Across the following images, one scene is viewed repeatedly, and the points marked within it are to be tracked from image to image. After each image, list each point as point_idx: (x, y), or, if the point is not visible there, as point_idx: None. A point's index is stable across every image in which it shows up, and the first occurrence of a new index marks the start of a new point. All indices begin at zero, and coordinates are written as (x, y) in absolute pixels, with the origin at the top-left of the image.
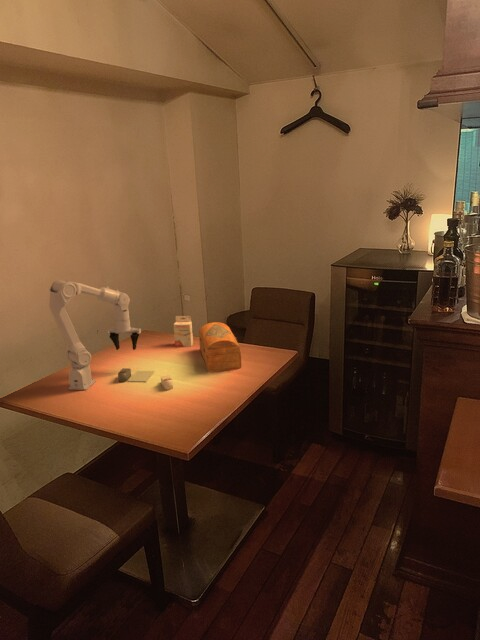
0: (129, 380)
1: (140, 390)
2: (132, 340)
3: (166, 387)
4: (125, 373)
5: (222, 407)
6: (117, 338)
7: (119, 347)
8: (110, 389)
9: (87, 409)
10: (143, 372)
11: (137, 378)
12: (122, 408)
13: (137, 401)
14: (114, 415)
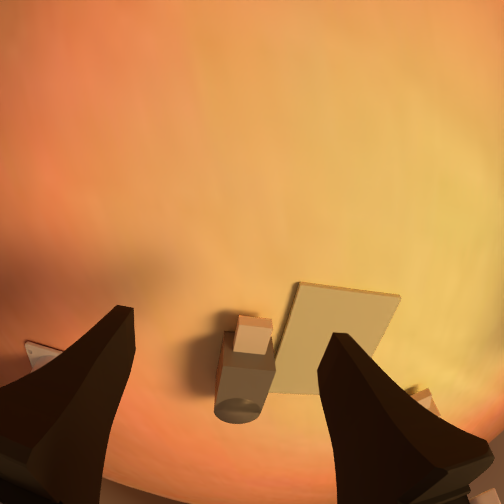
0: (272, 390)
1: (322, 436)
2: (345, 480)
3: None
4: (257, 416)
5: None
6: (86, 429)
7: (130, 312)
8: (204, 429)
9: (184, 485)
10: (341, 312)
11: (310, 375)
12: (276, 487)
13: (313, 471)
14: (262, 499)
